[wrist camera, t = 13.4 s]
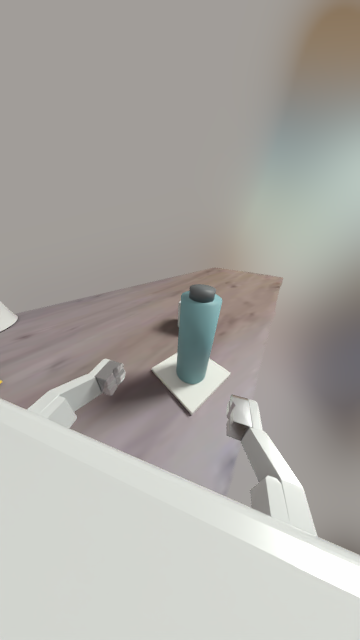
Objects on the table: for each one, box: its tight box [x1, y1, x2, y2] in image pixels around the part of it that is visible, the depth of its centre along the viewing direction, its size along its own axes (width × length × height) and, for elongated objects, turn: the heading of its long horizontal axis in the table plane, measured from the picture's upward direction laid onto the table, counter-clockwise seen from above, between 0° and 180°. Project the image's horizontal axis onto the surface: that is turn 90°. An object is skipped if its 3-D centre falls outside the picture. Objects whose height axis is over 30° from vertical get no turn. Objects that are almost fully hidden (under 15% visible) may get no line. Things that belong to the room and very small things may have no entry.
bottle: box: [176, 284, 222, 384], centre depth 22 cm, size 5×5×15 cm
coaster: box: [152, 353, 231, 415], centre depth 26 cm, size 10×10×1 cm
